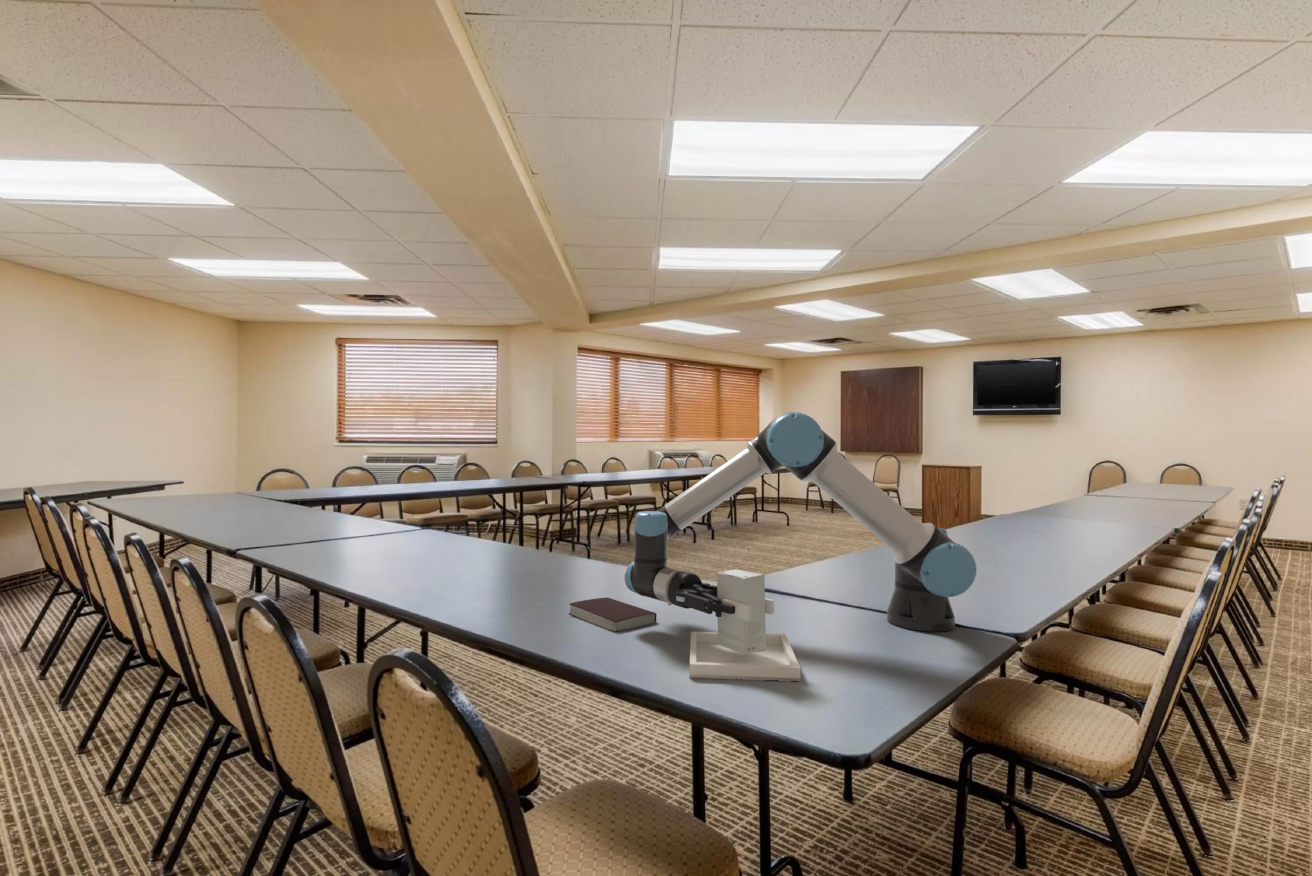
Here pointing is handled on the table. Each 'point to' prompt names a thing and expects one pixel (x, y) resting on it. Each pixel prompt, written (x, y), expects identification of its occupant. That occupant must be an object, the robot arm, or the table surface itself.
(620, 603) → the book
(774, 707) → the table surface
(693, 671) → the tray
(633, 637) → the table surface
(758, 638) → the skincare box
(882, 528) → the robot arm
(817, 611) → the table surface
